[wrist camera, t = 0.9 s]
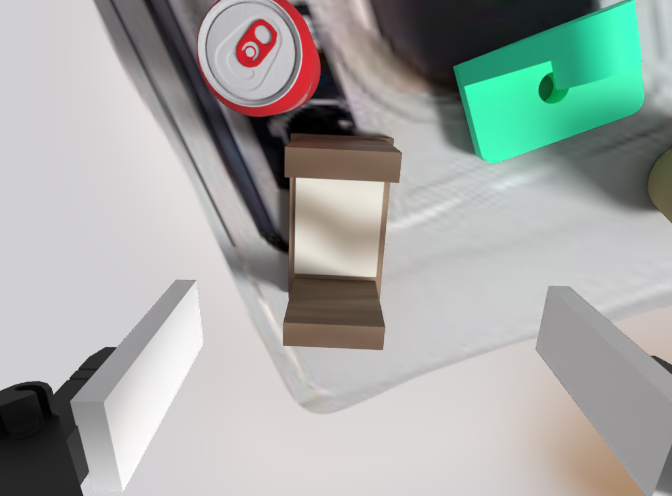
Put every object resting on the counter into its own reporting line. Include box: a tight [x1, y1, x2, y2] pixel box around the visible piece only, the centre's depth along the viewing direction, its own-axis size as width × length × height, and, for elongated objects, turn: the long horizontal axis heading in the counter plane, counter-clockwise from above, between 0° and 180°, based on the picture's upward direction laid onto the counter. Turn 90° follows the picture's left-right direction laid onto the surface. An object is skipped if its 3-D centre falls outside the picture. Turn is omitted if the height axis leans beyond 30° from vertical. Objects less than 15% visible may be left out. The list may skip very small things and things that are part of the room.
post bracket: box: [283, 133, 402, 350], centre depth 32 cm, size 14×8×9 cm, turn 177°
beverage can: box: [197, 0, 320, 117], centre depth 27 cm, size 6×6×12 cm
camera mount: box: [453, 0, 645, 163], centre depth 28 cm, size 12×8×10 cm, turn 110°
